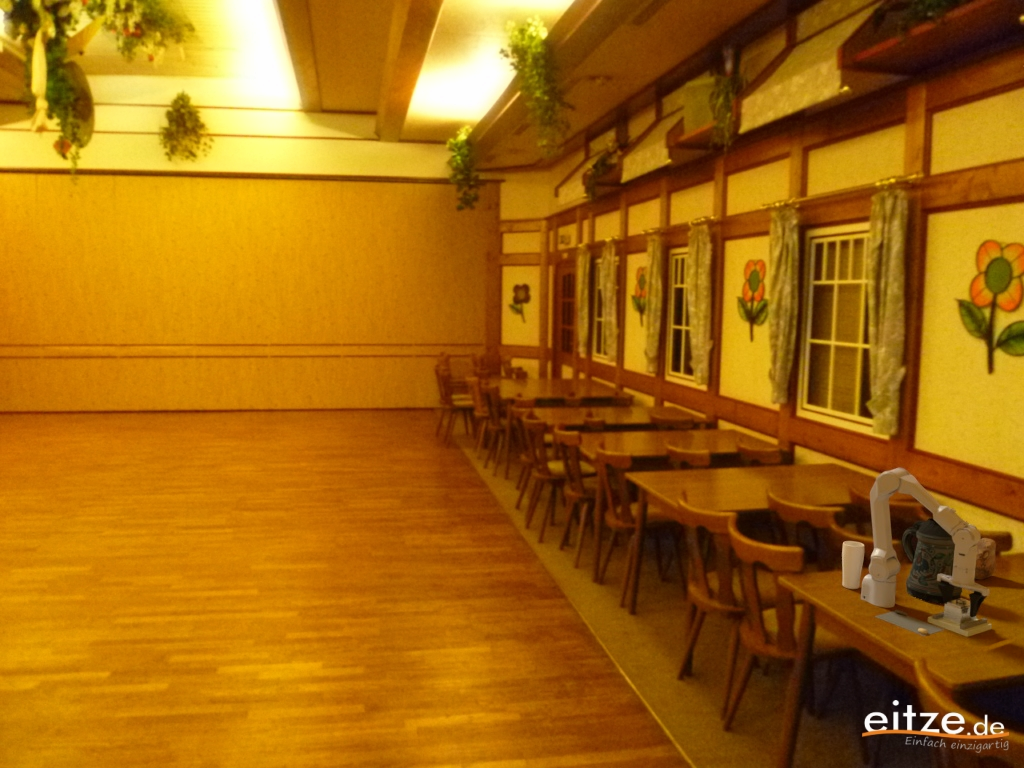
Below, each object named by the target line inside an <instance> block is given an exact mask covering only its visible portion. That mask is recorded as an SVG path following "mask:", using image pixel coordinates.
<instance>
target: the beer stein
mask: <svg viewBox="0 0 1024 768" xmlns="http://www.w3.org/2000/svg"><path fill="white" fill-rule="evenodd" d="M913 537H916V538H917V544H916V549H915V548H914V546H913ZM902 545H903V549H904V551H905V554H906V556H907V557H908V559H909V561H910V562H911V564H912V565H911V568H910V572H909V574H908V576H907V579H906V580H905V586H906V592H907V594H908V595H909V594H910V596H911V597H913V598H915V597H916V598H915V599H917V598H919V599H918V600H920V599H922V600H921V601H923V600H925V601H924V602H927V601H930V602H929V603H932V602H933V604H940V603H941V605H942V604H943V605H944V600H943V596H942V593H941V591H940V589H939V587H938V584H939V583H940V582H941V581H937V575H938V574H945V575H949V576H952V572H953V561H954V550H955V544H954V542H953V540H952V536H951V535H950V534H949V533H948V532H947V531H945V530H944V529H943V528H942V527H941V526H940V525H939V524H938V523H937V522H936V521H935V520H934V519H933V517H932V518H930V517H929V518H928V519H926V520H916V521H914V523H913V524H912V526H910V527H908V528H906V529H905V531H904V533H903V534H902ZM962 593H963V588H961V587H958V586H955V587H954V591H953V595H952V601H953V600H956V599H957V598H962V597H961V596H962Z"/></svg>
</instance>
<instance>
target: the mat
mask: <svg viewBox="0 0 1024 768" xmlns="http://www.w3.org/2000/svg"><path fill="white" fill-rule="evenodd" d="M874 618H877V619H880V620H881V621H885V622H887V623H890V624H893V625H894V626H897V627H899V628H902V629H905V630H907V631H910V632H912V633H913V634H914V633H915V634H916V635H920V636H922V637H927V636H930V635H933V634H936V633H939V632H942V631H945V628H942V627H940V626H937V625H935V624H932V623H929V622H926V621H923V620H921V619H918V618H916V617H913V616H910V615H908V613H907V612H905V611H902V610H900V609H895V610H893V611H889V612H886V613H882V614H878V615H875V616H874Z"/></svg>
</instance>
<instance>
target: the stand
mask: <svg viewBox="0 0 1024 768" xmlns="http://www.w3.org/2000/svg"><path fill="white" fill-rule="evenodd" d="M943 619H944V611H942V612H939V613H935V614H932V615H930V616H928V617H927V623H929V624H931V625H934V626H937V627H939V628H942V629H944V630H945V629H946V630H948V631H950V632H954V633H956V634H958V635H962V636H964V637H967V638H968V637H971V636H974V635H978V634H981V633H985V632H986V631H990V630H992V625H993V624H992V623H990V622H988V620H989V619H988V618H985V617H983V618H976V621H973V622H970V623H966V624H963V625H960V626H959V625H956V624H953V623H951V622H948V621H945V620H943Z"/></svg>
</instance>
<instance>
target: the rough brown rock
mask: <svg viewBox="0 0 1024 768" xmlns="http://www.w3.org/2000/svg"><path fill="white" fill-rule="evenodd" d="M975 545H977V552H976V553H977V556H976V567H975V578H974V580H981V581H982V580H985V579H987V578H989V577H991V576H992V575H993V574H994V573H995V572H996V568H997V567H996V565H997V564H996V559H997V557H996V548H997V543H996V540H994V539H992V538H988V537H982V538H980V541H979V542H978V543H977V544H975Z"/></svg>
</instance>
